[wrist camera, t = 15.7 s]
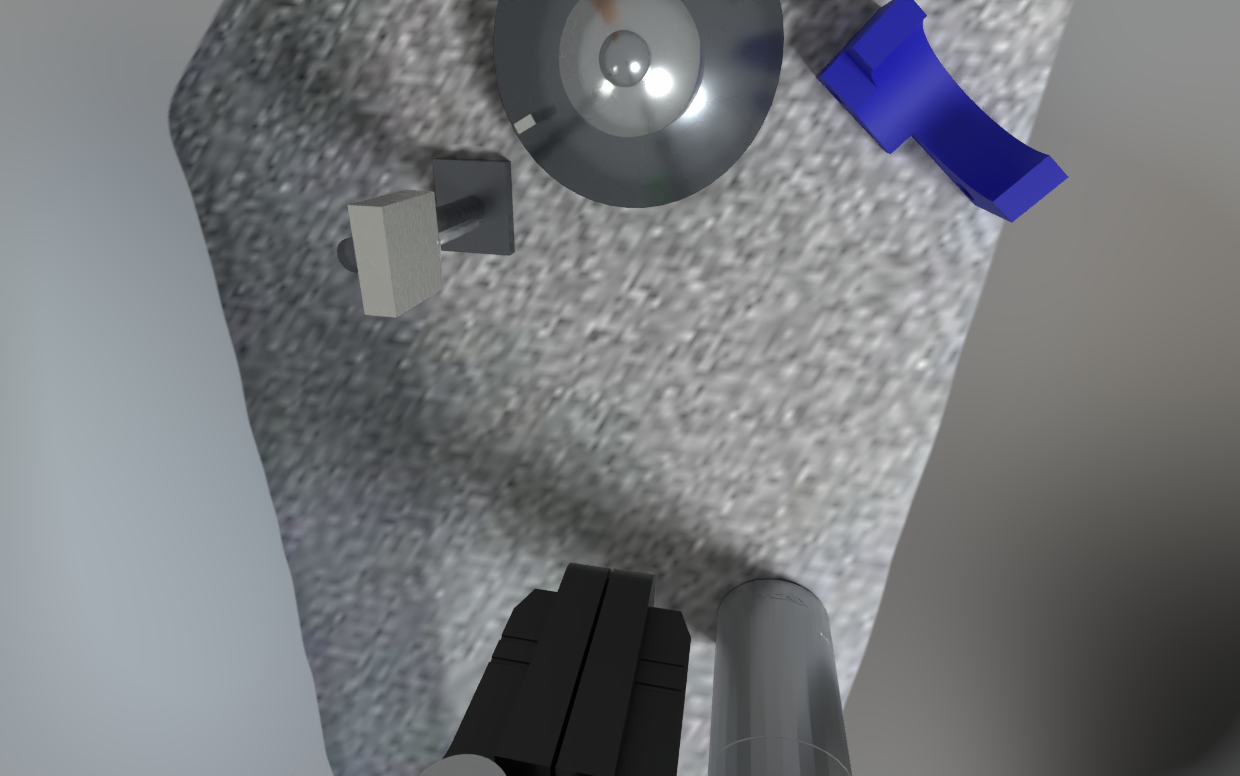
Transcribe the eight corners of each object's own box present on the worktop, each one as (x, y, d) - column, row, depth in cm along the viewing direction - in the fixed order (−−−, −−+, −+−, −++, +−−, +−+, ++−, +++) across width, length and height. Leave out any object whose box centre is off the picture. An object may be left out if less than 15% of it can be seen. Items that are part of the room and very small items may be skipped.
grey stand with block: (514, 252, 43) (399, 327, 29) (447, 247, 44) (303, 318, 30) (510, 161, 41) (381, 195, 26) (439, 157, 41) (277, 189, 27)
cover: (726, 92, 34) (722, 91, 29) (615, 156, 36) (596, 164, 32) (668, -41, 32) (654, -65, 27) (555, 36, 34) (525, 27, 29)
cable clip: (815, 77, 36) (827, 73, 30) (880, 7, 34) (905, -10, 28) (951, 223, 38) (985, 243, 32) (1020, 165, 36) (1068, 177, 30)
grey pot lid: (825, 122, 35) (845, 128, 28) (587, 245, 41) (553, 277, 34) (707, -190, 30) (694, -278, 23) (455, -3, 36) (383, -27, 29)
